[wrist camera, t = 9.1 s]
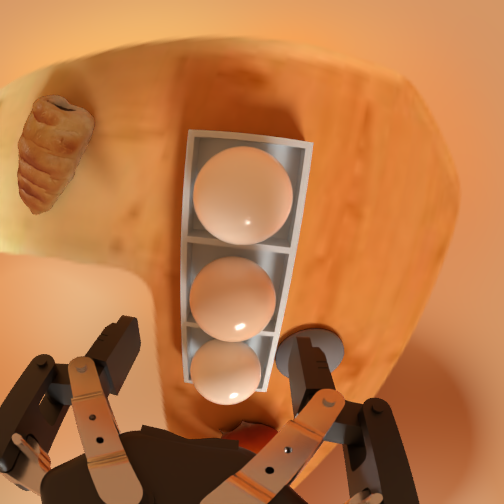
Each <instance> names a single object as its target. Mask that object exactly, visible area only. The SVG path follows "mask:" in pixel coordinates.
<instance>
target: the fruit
mask: <svg viewBox="0 0 504 504" xmlns="http://www.w3.org/2000/svg"><path fill="white" fill-rule="evenodd" d="M219 430H220V429H219ZM220 431H221V432H222V433H223V436H222V438H221V439H230V440H239V447H243V448H245V449H248V450H250V451H252V452H254V453H256V454H258V453H259V452H260V451H261V450H262V449H263V448H264V447H265V446H266V445H267V444H268V443H269V442H270V441H271V440H272V438H273V437H274V436H275V435H276V434H277V433H278V431H276V430H275V429H273V428H271V427H268V426H266V425H263V424H251V423H247V422H244V421H243V420H242V423H241V425H239V426H238V427H237V428H236V429H235V430H233V431H231V432H224V431H222V430H220Z"/></svg>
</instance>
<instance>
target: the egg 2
mask: <svg viewBox="0 0 504 504" xmlns="http://www.w3.org/2000/svg"><path fill="white" fill-rule="evenodd" d="M190 373H191V379H192V382H193V384H194V386H195V388H196V389H197V391H198V392H199V393H200V394H201V395H202V396H203V397H204V398H206V399H207V400H209V401H211V402H213V403H216V404H221V405H232V404H237V403H240V402H242V401H244V400H246V399H247V398H249V397H250V396H251V395H252V394H253V393H254V391H255V390H256V389H257V387H258V385H259V382H260V379H261V365H260V361H259V359H258V356H257V355H256V353H255V352H254V350H253V349H252V348H251V347H250V346H249V345H247V344H246V343H244V342H243V341H240V342H226V341H222V340H218V339H216V338H215V339H212V340H210V341H208V342H206V343H205V344H203V345H202V346H201V347H200V348H199V349H198V350H197V351H196V353H195V354H194V356H193V359H192V362H191V367H190Z"/></svg>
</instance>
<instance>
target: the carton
mask: <svg viewBox="0 0 504 504" xmlns="http://www.w3.org/2000/svg"><path fill="white" fill-rule="evenodd" d="M240 146H247V147H254V148H258V149H261V150H263V151H265V152H267V153H269V154H270V155H272V156H273V157H275V158H276V159H277V160H278V161H279V162H280V163H281V164H282V165H283V167H284V168H285V170H286V172H287V174H288V176H289V178H290V181H291V184H292V190H293V201H292V207H291V210H290V213H289V216H288V218H287V220H286V221H285V223H284V224H283V226H282V227H281V228H280V229H279V230H278V231H277V232H276V233H275V234H274V235H273V236H271V237H269V238H268V239H266V240H264V241H262V242H259V243H256V244H251V245H235V244H230V243H227V242H224V241H222V240H219V239H218V238H216V237H214V236H213V235H212V234H211V233H209V232H208V231H207V230H206V229H205V227H204V226H203V225H202V223H201V222H200V220H199V218H198V217H197V214H196V212H195V208H194V203H193V190H194V184H195V181H196V178H197V175H198V173H199V172H200V170H201V168H202V167H203V166H204V164H205V163H206V162H207V161H208V160H209V159H210V158H211V157H213V156H214V155H216V154H217V153H219V152H221V151H223V150H226V149H228V148H233V147H240ZM312 150H313V143H312V142H306V141H300V140H294V139H287V138H280V137H273V136H265V135H257V134H248V133H237V132H226V131H211V130H192V129H188V138H187V148H186V160H185V172H184V186H183V202H182V223H181V260H180V301H181V338H182V358H183V374H184V382H186V383H191V384H193V382H192V379H191V373H190V367H191V362H192V359H193V356H194V354H195V353H196V351H197V350H198V349H199V348H200V347H201V346H202V345H203V344H205V343H206V342H208V341H210V340H212V339H215V338H214V337H212V336H210V335H208V334H207V333H206V332H205V331H203V330H202V329H201V328H200V326H199V325H198V324H197V323H196V321H195V319H194V317H193V315H192V312H191V308H190V301H189V297H190V289H191V286H192V283H193V281H194V279H195V277H196V275H197V274H198V273H199V271H200V270H201V269H202V268H203V267H204V266H206V265H207V264H208V263H210V262H211V261H214V260H216V259H219V258H222V257H227V256H238V257H243V258H246V259H249V260H251V261H253V262H255V263H256V264H258V265H259V266H260V267H262V268H263V269H264V270H265V271H266V273H267V274H268V275H269V277H270V279H271V281H272V283H273V286H274V289H275V294H276V304H275V309H274V313H273V316H272V318H271V320H270V321H269V323H268V325H267V326H266V327H265V328H264V329H263V330H262V331H261V332H260V333H259V334H257V335H256V336H254V337H252V338H250V339H247V340H244V341H243V342H244V343H246V344H247V345H249V346H250V347H251V348H252V349H253V350H254V352H255V353H256V355H257V356H258V359H259V361H260V365H261V379H260V382H259V385H258V387H257V389H256V390H255V391H258V392H266V391H267V387H268V382H269V378H270V374H271V370H272V366H273V362H274V357H275V353H276V349H277V344H278V340H279V335H280V331H281V326H282V321H283V317H284V312H285V307H286V302H287V297H288V292H289V287H290V282H291V277H292V272H293V267H294V262H295V256H296V251H297V245H298V240H299V234H300V228H301V222H302V216H303V210H304V204H305V198H306V191H307V185H308V178H309V172H310V165H311V158H312Z"/></svg>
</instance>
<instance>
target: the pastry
mask: <svg viewBox="0 0 504 504" xmlns="http://www.w3.org/2000/svg"><path fill="white" fill-rule="evenodd" d="M94 124H95V121H94V117H93V116H92V115H90V113H89V112H88V111H87V110H85V109H84V108H81V107H78V106H75V105H70V104H69V102H68V101H67V100H66V99H65V98H64V97H61V96H59V95H50V96H43V97H41V98H39V99H37V100H36V101H35V102H34V104H33V110H32V111H31V113H30V115H29V117H28V119H27V121H26V123H25V126H24V128H23V133H22V135H21V137H20V139H19V142H18V149H19V168H18V172H17V177H18V186H19V194H20V197H21V199H22V200H23V202H24V203H25V204H26V205H27V206H28V207H29V208H30V210H31V212H32V213H33V214H35V215H37V214H40V213H43V212H46V211H48V210H50V209H51V208H52V206H53V204H54V202H55V201H56V200H57V198H58V196H59V195H60V194H61V193H62V191H63V190H64V188H65V186H66V185H67V184H68V183H69V181H70V180H72V179H73V177H74V175H75V169H76V167H77V166H78V164H79V161H80V159H81V157H82V155H83V153H84V152H85V150H86V147H87V145H88V143H89V140H90V138H91V136H92V132H93V129H94Z"/></svg>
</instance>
